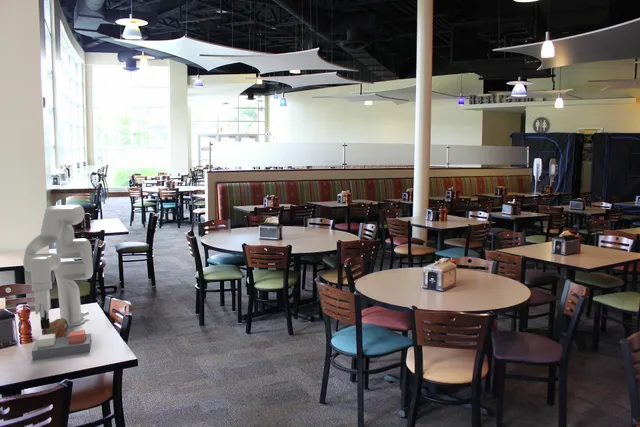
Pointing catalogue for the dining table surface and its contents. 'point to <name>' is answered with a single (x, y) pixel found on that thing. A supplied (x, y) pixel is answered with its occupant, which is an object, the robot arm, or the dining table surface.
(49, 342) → the white button
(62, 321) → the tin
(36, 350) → the console
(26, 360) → the dining table surface
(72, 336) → the red button
